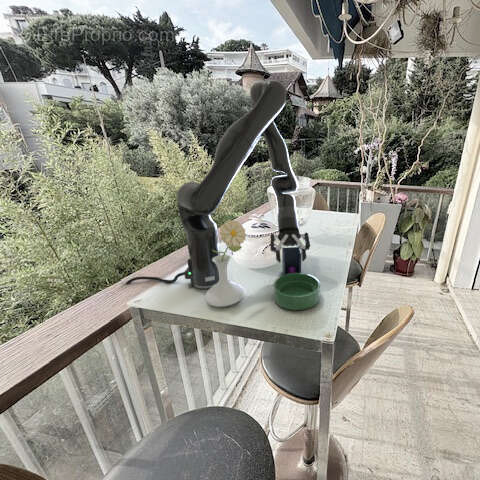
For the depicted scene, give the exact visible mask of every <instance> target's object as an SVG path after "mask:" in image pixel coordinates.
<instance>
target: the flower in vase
mask: <svg viewBox="0 0 480 480" xmlns="http://www.w3.org/2000/svg"><path fill="white" fill-rule="evenodd" d="M219 231H220V232H219V235H220V240H221V241H222V242H223V243H224V244H225V246H226V248H225V250H224V251H221V250H220V251H214V250H212V251H213V252H218V253H220V255H219V256H216V257H214V258H213V259H212V261H213V262H214V263H215V264H216V265H217V268H218V271H219V282H218V283H217V284H215V285H214V286H213V287H211V288H209V289H207V292H206V293H205V296H204V300H205V302H206V303H208V305H210V306H213V307H217V308H222V307H229V306H233V305H235V304H237V303H239V302H240V301H241V300H242V299H243V298H244V296H245V294H246V292H245V289H244V288H243V286H242V285H241V284H238V283H237V282H234V281H232V280H230V279H229V277H228V265H229V261H230V260H231V256H230V255H227V252H228V249H229V251H231V252H233V253H236V252H238V251H240V250H241V249H242V248H243V247H242V245H241V244H244V242H245V241H246V239H247V238H246V236H247V233H246V229H245V227H244V226H243V225H242V224H240V222H239V221H238V220H235V219H232V220H231V219H227V220H225V221H224V223H223V224H221V225H220V228H219Z"/></svg>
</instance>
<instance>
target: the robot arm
mask: <svg viewBox="0 0 480 480" xmlns="http://www.w3.org/2000/svg"><path fill="white" fill-rule="evenodd" d="M249 96H250V101H251V105H252V108H251V109H250V110H248V111H247V113H245V114H243V116H241V117H240V118H238V119H237V120H235V121H234V122H233V123H232V124H231V125H230V126H229V127H228V128H227V130H226V131H225V132H224V134H223V135H222V137H221V138H220V139H219V141H218V142H217V145H216V149H215V153H214V159H213V164H212V166H211V167H210V170H209V171H208V173H207V174H206V175H205V177H204V178H203V179H202V180H201V182H200V183H199V182H194V181H190V182H188V181H187V182H185V183H183V184H182V185H180V186H179V188H178V190H177V193H176V204H177V209H178V214H179V219H180V224H181V226H182V228H183V230H184V232H185V239H186V244H187V250H188V259H187V268H186V269H185V270H184V271H183V272H180V273H178V274H176V275H175V276H174V278H173V279H170V280H169V279H163V278H161V277H158V276H135V277H132V278H130V279H128V280H127V281H126V282H125V285H130V284H131V283H133V282H135V281H140V280H151V281H158V282H160V283H167V284H173V283H175V282H177V280H178V278H180V277H183V276H184V279H185V280H190V286H191V287H195V288H196V289H201V290H209V289H210V288H211V287H213V286H214V285H215V284H217V283H218V282H219V271H218V268H217V265H216V264H215V263H214V262H213V261H212V259H213V258H214V257H216V256H219V255H221V253H218V252H213V251H212V250H214V251H220V252H221V250H220V240H219V233H218V232H219V231H218V226H217V224H216V223H215V221H214V220H213V219H212V217H211V215H212V214H214V212H216V211H217V209H218V207H219V206H220V204H221V202H222V200H223V198H224V196H225V194H226V193H227V190H228V188H229V187H230V184H231V183H232V181H233V179H234V178H235V177H236V175H237V173H238V172H239V170H240V169H241V167H242V166H243V164H244V162H245V161H246V160H247V158H248V157H249V156H250V154H251V153H252V151H253V150H254V148H255V146H256V144H257V143H258V142H259V140H260V139H261V137H262V136H263V137H264V140H265V143H266V146H267V147H266V148H267V151H268V155H269V161H270V164H271V168H272V170H273V171H274V172H279V173H284V175H277V176H274V177H273V178H272V179H271V182H270V185H271V189H272V191H273V194H274V195H275V199H276V204H277V225H278V234H274V233H270V252H274V253H275V260H276V261H277V262H278V263H281V261H282V259H281V251H282V248H284V246H285V247H299V249H300V251H301V262H305V260H306V259H307V251H308V250H310V248H311V243H310V237H309V232H304V233H301V232H300V227H299V217H298V211H297V206H296V198H295V196H294V195H293V194H292V193H295V192H297V190H298V189H299V182H298V179H297V177H296V176H295V175H296V174H295V173H294V171H293V169H292V166H291V161H290V158H289V157H290V156H289V152H288V151H289V150H288V148H287V145H286V142H285V140H284V138H283V137H282V135H281V134H280V131H279V130H278V128H277V125H276V124H275V121H274V119H275V118H276V117H277V116H278V115H279V113H280V112H281V111H282V110H283V108H284V106H285V105H286V101H287V90H286V87H285V85H284V84H283V83H282V82H281V81H279V80H275V79H268V80H260V81H256V82H254V83H253V84H252V85H251V87H250V90H249ZM290 193H291V194H290ZM301 239H302V240H303V241H304V244H303V242H302V241H301ZM277 240H278V241H279V243H278V245H277V246H275V242H276V241H277Z"/></svg>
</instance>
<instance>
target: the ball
mask: <svg viewBox="0 0 480 480" xmlns="http://www.w3.org/2000/svg"><path fill="white" fill-rule="evenodd" d="M287 273H288V274H290V273H296V269H295V268H294V267H289V268H288V270H287Z"/></svg>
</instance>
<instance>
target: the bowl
mask: <svg viewBox="0 0 480 480" xmlns="http://www.w3.org/2000/svg"><path fill="white" fill-rule="evenodd" d="M320 298H321V281H320V280H319V279H318V278H317V277H315V276H314V275H312V274H308V273H304V272H301V273H290V274H286V275H283V274H282V275H280V276H279V277H278V278H276V279H275V280H274V282H273V299H274V302H275V303H276V304H277V305H278V306H279V307H281V308H283V309H286V310H292V311H299V310H300V311H301V310H306V309H309V308H311V307H313V306H315V305H316V304H317V303H319V300H320Z"/></svg>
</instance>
